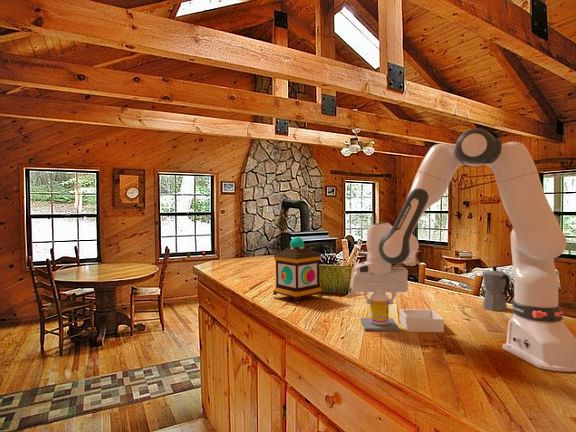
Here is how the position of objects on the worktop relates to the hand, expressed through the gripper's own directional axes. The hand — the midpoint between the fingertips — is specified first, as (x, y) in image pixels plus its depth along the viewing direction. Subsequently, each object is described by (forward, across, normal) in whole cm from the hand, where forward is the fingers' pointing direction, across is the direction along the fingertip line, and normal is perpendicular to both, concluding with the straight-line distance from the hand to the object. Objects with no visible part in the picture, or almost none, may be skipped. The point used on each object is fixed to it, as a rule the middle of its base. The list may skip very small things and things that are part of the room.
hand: (379, 304), depth 135 cm
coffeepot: (+8, -53, -24) cm, 59 cm away
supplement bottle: (+7, 0, 0) cm, 7 cm away
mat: (+8, 0, 0) cm, 8 cm away
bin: (+8, -15, 0) cm, 17 cm away
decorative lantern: (+8, +32, -41) cm, 53 cm away
